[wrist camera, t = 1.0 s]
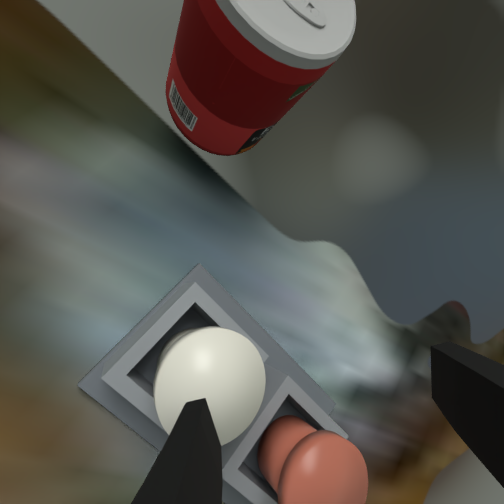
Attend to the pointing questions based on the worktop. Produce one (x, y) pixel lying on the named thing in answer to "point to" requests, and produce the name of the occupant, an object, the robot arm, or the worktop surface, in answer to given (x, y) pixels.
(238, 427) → the cream plug
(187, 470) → the robot arm
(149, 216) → the worktop surface
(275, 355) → the socket board
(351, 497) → the red plug
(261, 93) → the canned food
